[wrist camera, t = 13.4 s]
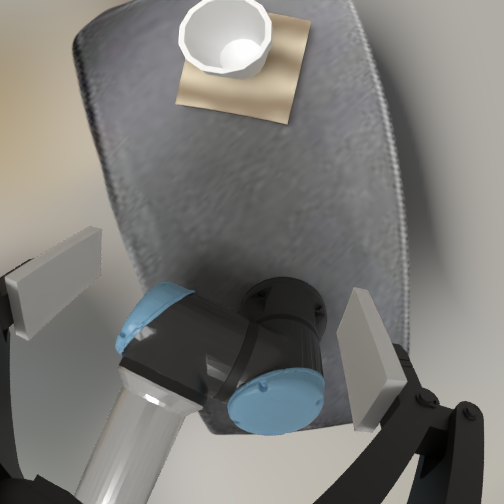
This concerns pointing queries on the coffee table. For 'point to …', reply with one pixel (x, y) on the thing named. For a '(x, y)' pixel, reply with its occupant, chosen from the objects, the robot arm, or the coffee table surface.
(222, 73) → the foam cup
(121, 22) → the coffee table surface
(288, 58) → the wooden base
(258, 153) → the coffee table surface
